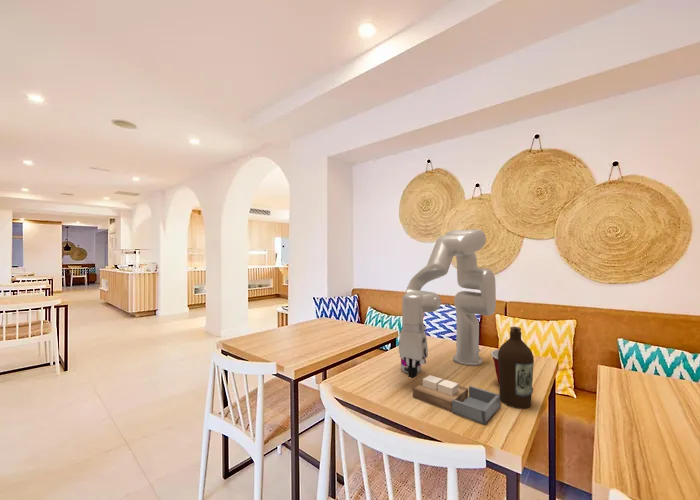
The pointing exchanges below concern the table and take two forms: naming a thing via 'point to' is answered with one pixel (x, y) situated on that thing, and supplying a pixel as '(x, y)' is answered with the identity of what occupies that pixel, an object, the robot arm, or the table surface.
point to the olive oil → (515, 371)
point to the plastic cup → (496, 362)
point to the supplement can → (405, 367)
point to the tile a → (432, 382)
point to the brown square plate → (439, 396)
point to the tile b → (448, 387)
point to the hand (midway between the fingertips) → (412, 376)
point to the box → (477, 405)
